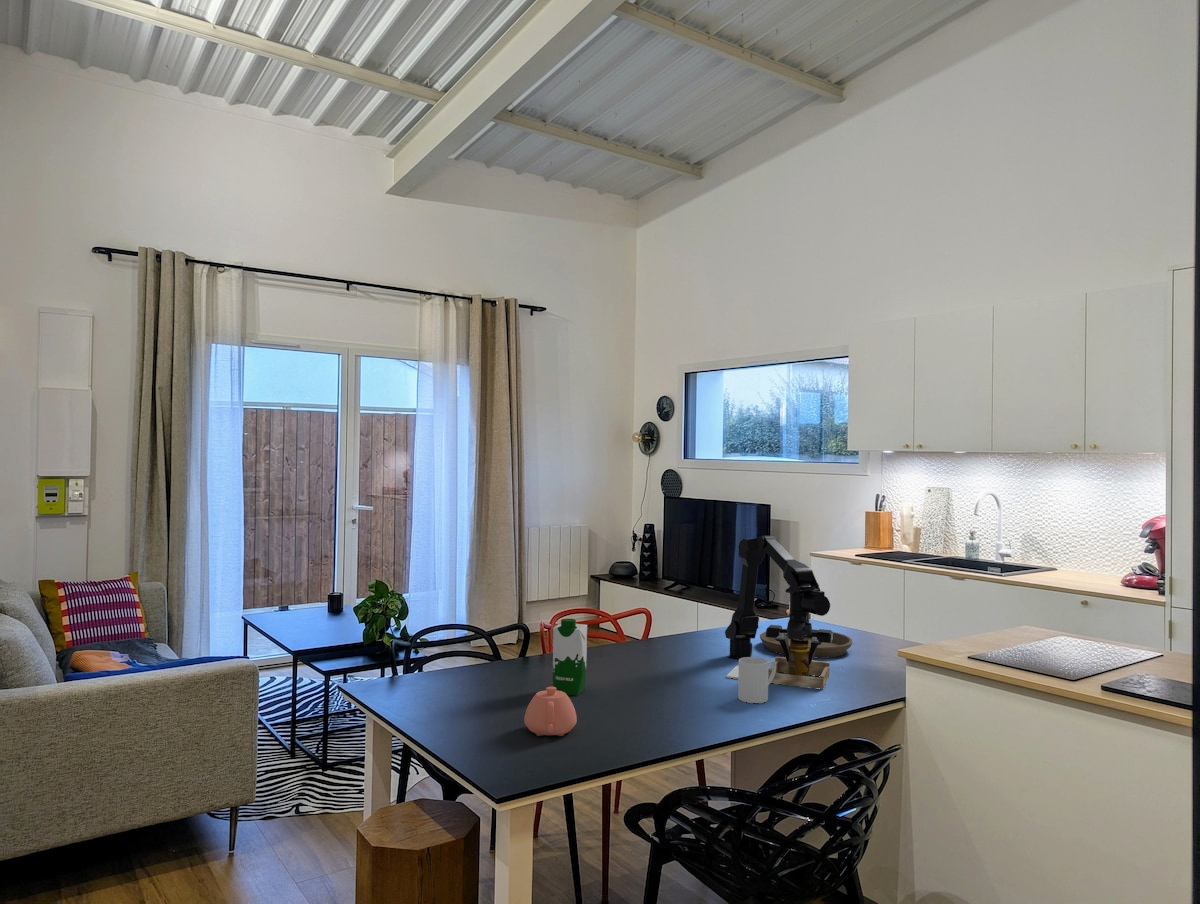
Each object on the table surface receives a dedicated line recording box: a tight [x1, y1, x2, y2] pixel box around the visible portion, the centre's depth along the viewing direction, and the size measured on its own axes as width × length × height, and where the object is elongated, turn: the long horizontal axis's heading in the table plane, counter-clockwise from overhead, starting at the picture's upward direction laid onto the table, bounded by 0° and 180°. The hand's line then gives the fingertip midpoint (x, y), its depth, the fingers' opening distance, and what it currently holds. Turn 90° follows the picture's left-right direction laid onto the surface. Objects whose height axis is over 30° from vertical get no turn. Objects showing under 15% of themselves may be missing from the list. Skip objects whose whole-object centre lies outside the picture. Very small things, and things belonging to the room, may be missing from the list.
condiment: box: [787, 638, 810, 677], centre depth 240 cm, size 7×8×12 cm
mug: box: [737, 656, 776, 704], centre depth 220 cm, size 12×8×10 cm, turn 125°
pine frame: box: [768, 656, 831, 690], centre depth 240 cm, size 16×15×4 cm
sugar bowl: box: [523, 686, 578, 737], centre depth 190 cm, size 12×14×10 cm
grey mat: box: [725, 665, 739, 680], centre depth 246 cm, size 10×14×1 cm
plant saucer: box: [759, 628, 854, 658], centre depth 281 cm, size 31×31×5 cm
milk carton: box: [552, 618, 588, 697], centre depth 224 cm, size 9×9×20 cm
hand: (798, 662), depth 240 cm, fingers closed on condiment, 6 cm apart
